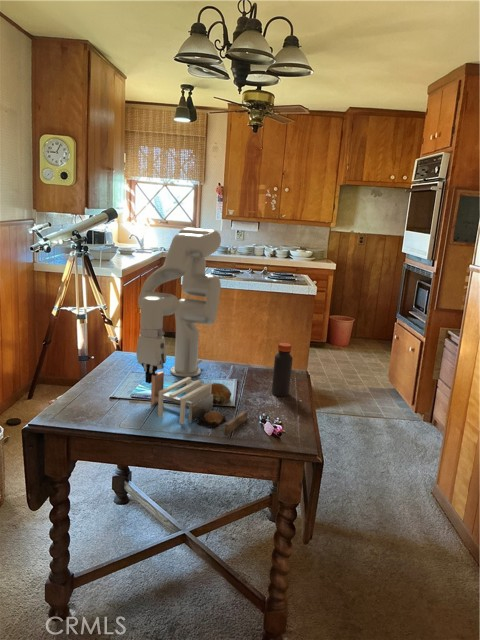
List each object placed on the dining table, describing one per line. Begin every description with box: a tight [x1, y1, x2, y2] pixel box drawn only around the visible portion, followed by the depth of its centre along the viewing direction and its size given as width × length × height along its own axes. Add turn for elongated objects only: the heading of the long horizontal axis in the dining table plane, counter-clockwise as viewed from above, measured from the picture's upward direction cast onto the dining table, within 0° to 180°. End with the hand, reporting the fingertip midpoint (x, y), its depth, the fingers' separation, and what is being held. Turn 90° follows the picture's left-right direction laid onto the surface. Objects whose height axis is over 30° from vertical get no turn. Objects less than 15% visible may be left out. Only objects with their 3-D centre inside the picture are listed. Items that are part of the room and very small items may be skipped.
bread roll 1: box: [211, 382, 232, 406], centre depth 175 cm, size 10×10×8 cm
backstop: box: [223, 410, 248, 435], centre depth 155 cm, size 13×1×3 cm, turn 152°
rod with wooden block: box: [150, 370, 214, 424], centre depth 163 cm, size 13×20×11 cm, turn 62°
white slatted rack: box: [157, 377, 213, 425], centre depth 162 cm, size 17×10×9 cm, turn 152°
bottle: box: [271, 342, 293, 398], centre depth 183 cm, size 7×7×20 cm
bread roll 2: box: [195, 409, 228, 430], centre depth 158 cm, size 11×8×4 cm
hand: (150, 381), depth 168 cm, fingers closed
